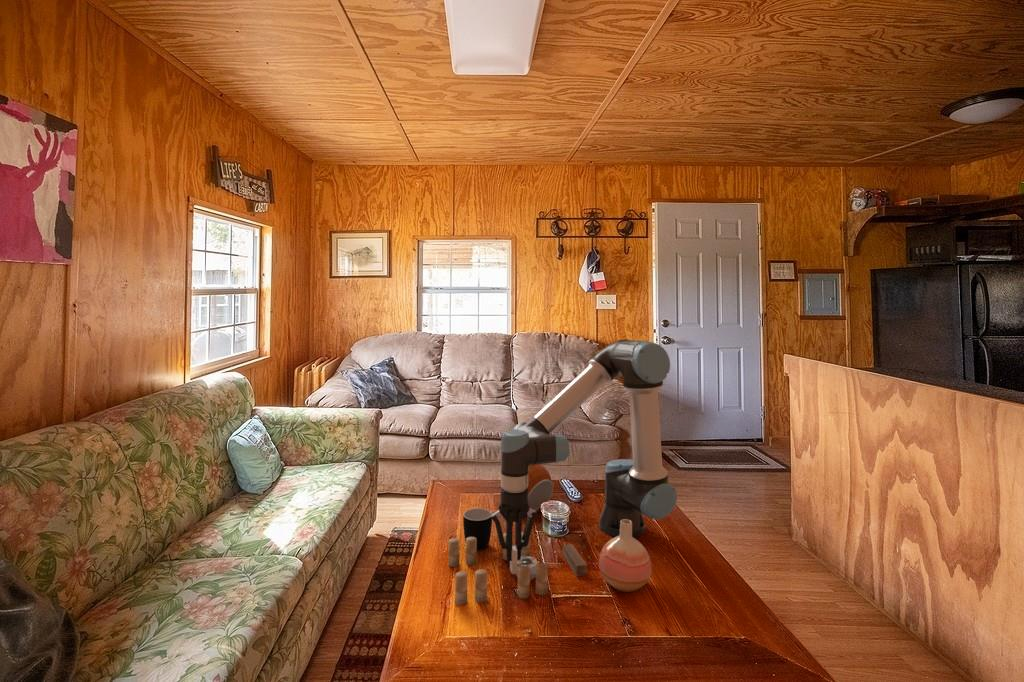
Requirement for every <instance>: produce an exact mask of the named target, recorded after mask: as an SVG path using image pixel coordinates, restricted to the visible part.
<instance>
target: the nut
mask: <svg viewBox="0 0 1024 682" xmlns="http://www.w3.org/2000/svg"><path fill="white" fill-rule="evenodd" d="M538 563H539V562H538V560H537V558H536V557H534V556H531V555H530V556H521V559H520V560H517V573H516V574H515V577H516V578H517V580H518V568H519V567H520V566H527V567H529V568H530V581H532V580H534V579H536V565H537V564H538Z"/></svg>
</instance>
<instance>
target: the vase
mask: <svg viewBox="0 0 1024 682" xmlns="http://www.w3.org/2000/svg"><path fill="white" fill-rule="evenodd" d="M598 559H599V560H598V565H599V567H598V568H599V571H600V573H601V576H602V577H603V578H604V580H605V581H606V582H607V583H608V584H609V585H610V586H612V587H613V588H614V589H615V590H618V591H619V592H623V593H624V592H625V593H631V592H635V591H636V590H639V589H640V588H642V587H643V586H644V585H646V584H647V583H648V581H649V580H650V577H651V574H652V561H651V557H650V555H649V552H648V551H647V549H646V547H645V546H644V545H643V544H642V543H641V542H640V541H639V540H637V539H636V537H634V538H633V537H632V521H630V520H628V519H622V520H621V521H620V535H619V536H617V537H615V536H613V538H611V539H609V540H608V541H607V542H606V543H605V544H604V546H603V547H602V549H601V551H600V554H599V558H598Z"/></svg>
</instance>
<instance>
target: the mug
mask: <svg viewBox="0 0 1024 682" xmlns="http://www.w3.org/2000/svg"><path fill="white" fill-rule="evenodd" d="M491 513H492V511H490V509H486V508H482V507H481V508H480V507H474V508H470V509H468V510H466V511H464V512H463V515H462V517H463V520H462V523H463V524H462V525H463V533H464V541H465V543H466V538H468V537H475V538H476V539H477V547H476V552H477V551H483V550H485V549H486V548H488V546H489V544H490V539H491V535H492V528H493V527H492V525H493V519H492V517H491Z"/></svg>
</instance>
